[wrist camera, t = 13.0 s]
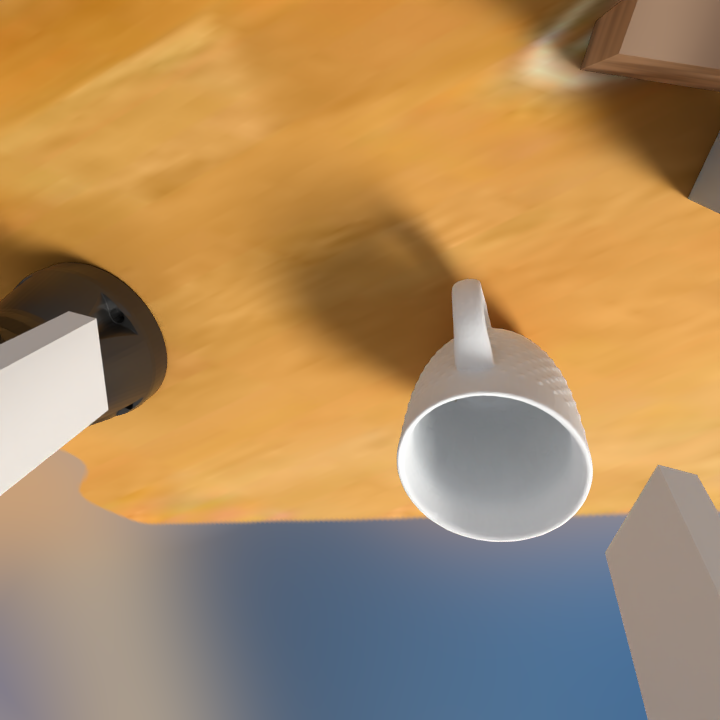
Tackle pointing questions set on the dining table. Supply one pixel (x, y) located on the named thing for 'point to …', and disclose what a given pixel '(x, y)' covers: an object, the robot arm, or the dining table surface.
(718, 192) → the pale blue flat slat
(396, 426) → the dining table surface
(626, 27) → the walnut slot plate
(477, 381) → the mug
